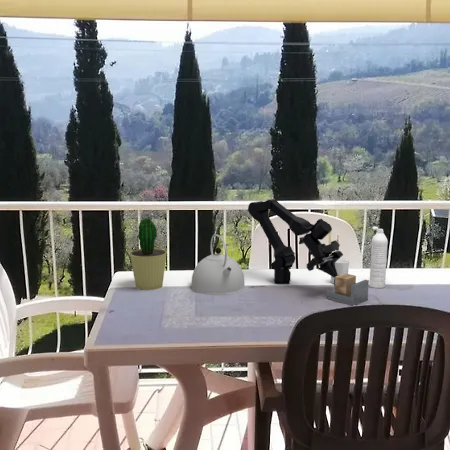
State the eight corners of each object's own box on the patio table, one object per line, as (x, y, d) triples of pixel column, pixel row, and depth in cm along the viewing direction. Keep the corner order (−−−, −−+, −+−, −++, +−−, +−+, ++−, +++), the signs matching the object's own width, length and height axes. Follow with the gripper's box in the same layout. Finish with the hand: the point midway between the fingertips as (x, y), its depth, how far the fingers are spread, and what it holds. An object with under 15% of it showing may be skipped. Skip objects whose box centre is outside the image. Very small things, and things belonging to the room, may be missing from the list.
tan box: (331, 295, 219) (332, 276, 218) (341, 291, 224) (342, 272, 223) (345, 299, 215) (346, 279, 213) (355, 295, 220) (356, 275, 218)
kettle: (255, 293, 226) (256, 239, 222) (203, 299, 218) (203, 243, 214) (232, 277, 249) (232, 228, 245) (184, 282, 241) (184, 231, 237)
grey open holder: (325, 298, 219) (326, 279, 218) (339, 292, 227) (340, 273, 225) (353, 305, 211) (354, 285, 209) (367, 299, 218) (368, 280, 216)
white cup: (343, 286, 235) (344, 263, 233) (326, 283, 240) (327, 260, 238) (351, 282, 241) (352, 260, 239) (334, 279, 246) (335, 257, 244)
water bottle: (387, 287, 234) (391, 229, 229) (374, 288, 232) (377, 230, 227) (377, 281, 242) (380, 226, 237) (363, 283, 240) (366, 226, 235)
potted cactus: (165, 291, 227) (163, 220, 221) (127, 291, 227) (125, 219, 222) (169, 281, 242) (168, 213, 236) (134, 280, 242) (132, 213, 237)
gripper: (313, 238, 215) (336, 270, 209) (339, 231, 228) (362, 262, 222) (296, 254, 221) (318, 286, 216) (323, 247, 235) (344, 277, 229)
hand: (336, 277), depth 221 cm, fingers closed, pressing on tan box
